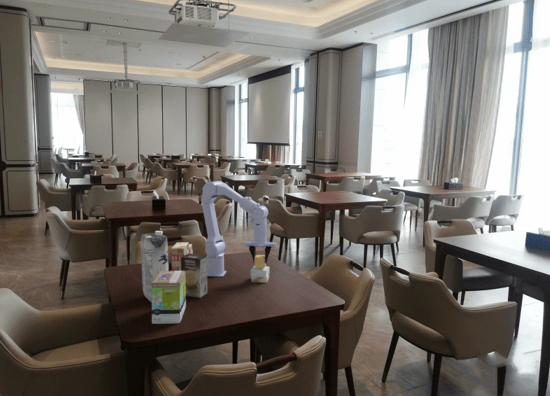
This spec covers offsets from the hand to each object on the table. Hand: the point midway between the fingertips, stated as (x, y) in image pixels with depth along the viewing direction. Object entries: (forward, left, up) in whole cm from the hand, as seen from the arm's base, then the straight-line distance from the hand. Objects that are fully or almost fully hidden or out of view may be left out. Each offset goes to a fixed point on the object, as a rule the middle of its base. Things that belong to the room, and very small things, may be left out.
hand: (260, 262), depth 197 cm
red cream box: (-42, +17, -8) cm, 46 cm away
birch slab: (0, 0, -8) cm, 9 cm away
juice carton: (-38, -28, -8) cm, 48 cm away
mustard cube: (0, 0, -2) cm, 2 cm away
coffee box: (-24, -22, -8) cm, 34 cm away
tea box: (-26, -45, -8) cm, 53 cm away
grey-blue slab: (0, 0, -6) cm, 6 cm away
